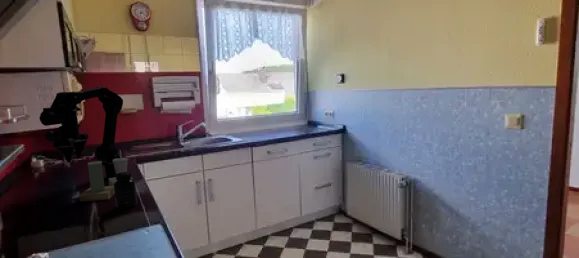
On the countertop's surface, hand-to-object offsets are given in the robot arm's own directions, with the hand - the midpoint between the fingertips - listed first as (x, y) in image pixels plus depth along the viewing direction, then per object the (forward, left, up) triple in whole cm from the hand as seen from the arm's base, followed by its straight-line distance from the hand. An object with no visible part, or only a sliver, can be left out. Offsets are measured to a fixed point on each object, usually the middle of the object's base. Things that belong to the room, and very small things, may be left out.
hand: (74, 160), depth 137 cm
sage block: (+11, +12, -10) cm, 19 cm away
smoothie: (-12, +14, -13) cm, 23 cm away
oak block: (+11, +12, -14) cm, 21 cm away
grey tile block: (0, +17, -13) cm, 22 cm away
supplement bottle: (+26, +26, -13) cm, 39 cm away
